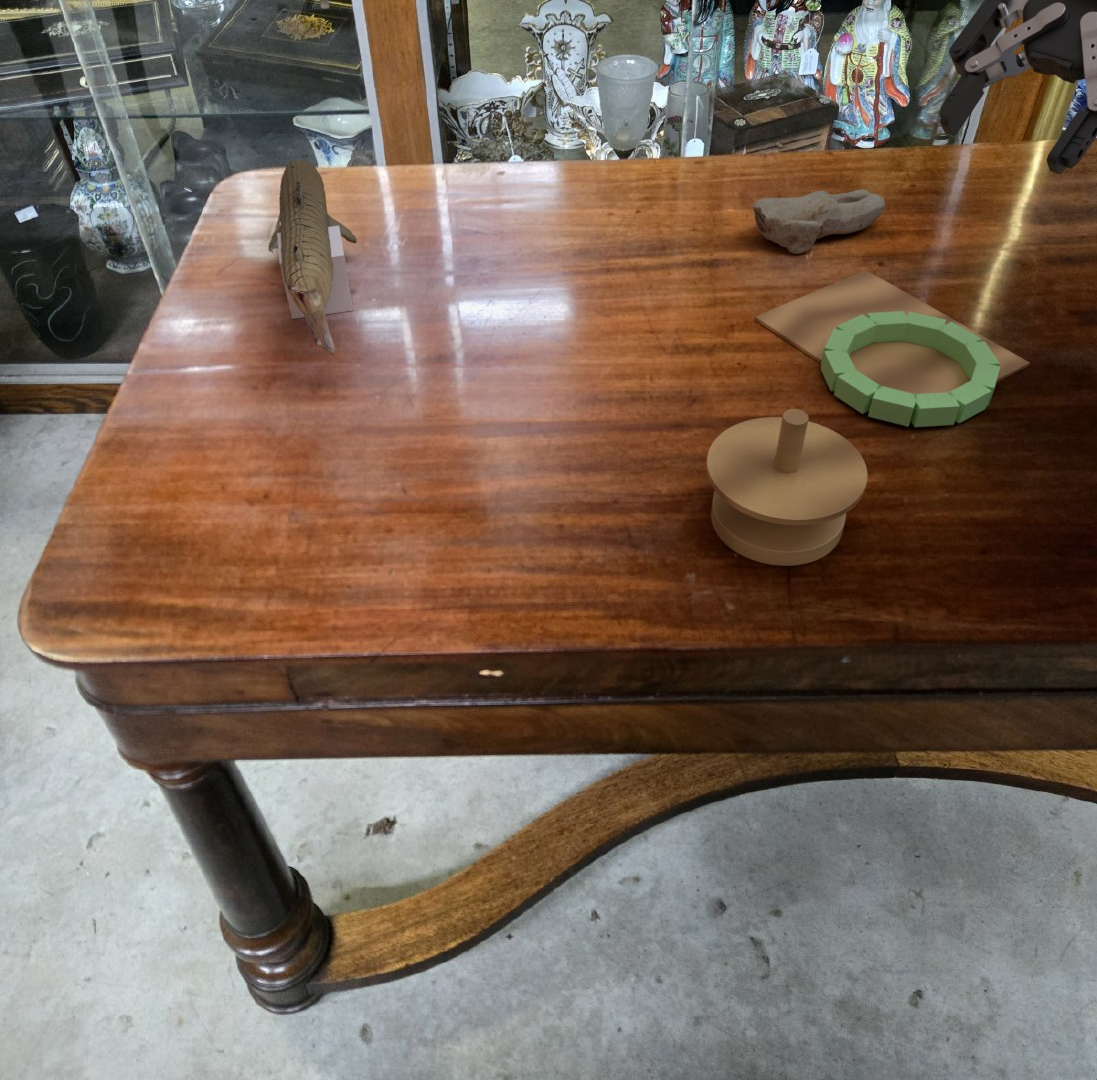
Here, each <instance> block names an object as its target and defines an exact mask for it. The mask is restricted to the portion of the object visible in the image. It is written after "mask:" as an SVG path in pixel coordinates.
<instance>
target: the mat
mask: <svg viewBox="0 0 1097 1080" xmlns="http://www.w3.org/2000/svg"><path fill="white" fill-rule="evenodd" d="M896 311H904V313H905V315H906V317H907V315H908V313H909V312H914V313H918V314H923V315H927V316H932V317H936V318H941V319H946V323H945V325H946V324H948V323H950V322H953V323H955V324H957V325H959V326H960V327H962V328H964V329H966V330H967V331H969V332H971V333H973V334H975V335H976V336H978V337H980V338H981V342H986V344H987V345H988V347H989V348H990V350H991V351H992V353H993V354H994V356H995V357H996V358H997V360H998V361H999V367H1000V371H999V374H998V378H997V381H996V384H997V383H999V382H1000V381H1003V380H1004V379H1006V378H1008V377H1010V376H1012V375H1014V374H1016V373H1018V372H1019V371H1022V370H1024V369H1025V368H1027V367H1028V368H1029V366H1030V364H1031V362H1029V361H1028V360H1026V359H1025V358H1022V357H1021V356H1019V355H1017V354H1016V353H1013V352H1012V351H1010V350H1008V349H1006V348H1005V347H1003V346H1002V345H999V344H998V343H996V342H994V341H992V340H991V339H989V338H988V337H985V336H984V335H981V334H980V333H978V332H976V331H975V330H973V329H971V328H969V327H968V326H966V325H965V324H962V323H960V322H959V321H957V320H956V319H953V318H951V316H948V315H947V314H945V313H943V312H941V311H939V310H937V309H936V308H934V307H932V306H931V305H929V304H927V303H925V302H924V301H922V300H920V299H918V298H917V297H915V296H913V295H912V294H910V293H908V292H906V291H904V290H902V289H900V288H899V287H897V286H895V285H893V284H891V283H890V282H888V281H887V280H885V279H883V278H881V277H880V276H878V275H876V274H874V273H872V272H870V271H868V270H867V269H864V270H862V271H860V272H857V273H855V274H852V275H850V276H847V277H845V278H843V279H841V280H838V281H836V282H833V283H831V284H829V285H826V286H824V287H822V288H819V289H817V290H814V291H812V292H810V293H808V294H805V295H803V296H800V297H798V298H796V299H795V298H794V299H793V300H790V301H788V302H786V303H784V304H781V305H779V306H777V307H774V308H772V309H769V310H767V311H765V312H762V313H759V314H757V315H755V316H754V321H756V322H757V323H758V324H760V325H761V326H763V327H765V328H766V329H768V330H769V331H771V332H772V333H774V334H775V335H776V336H777V337H780V338H781V339H783V340H784V341H786V343H789V344H790V345H792V346H794V347H795V348H796V349H798V350H799V351H801V352H803V353H804V354H805V355H806V356H808V357H810V358H811V359H813V360H814V361H816V362H817V363H819V364H820V365H821V361H822V356H823V351H824V347H825V345H826V343H827V341H828V339H829V337H830V335H831V333H832V331H833V329H836V328H837V326H838V325H840V324H843V323H845V322H847V321H849V320H851V319H854V318H856V317H858V316H860V315H865V316H866V317H867V314H868V313H879V312H896ZM849 357H850V359H851V361H852V363H853V365H854V367H855V369H856V370H857V371H859V372H860V373H862V374H863V375H865V376H866V377H868V378H870V379H871V380H873V381H874V382H876V383H877V384H879V385H880V386H884V387H888V388H892V389H896V390H900V391H904V392H909V393H913V394H926V393H943V392H950V391H952V390H954V389H956V388H958V387H960V386H961V385H963V384H965V383H967V382H969V381H970V380H969V378H968V376H967V375H966V373H965V372H964V370H963V368H962V367H961V365H960V364H959V363H958V362H957V361H955V360H953V359H952V358H950V357H948V356H946V355H945V354H943V353H941V352H940V351H938V350H936V349H935V348H931V347H927V346H922V345H918V344H913V343H909V342H905V341H894V342H877V343H871V344H869V345H866V346H864V347H862V348H860V349H858V350H856V351H854V352H852V353H851V354H850V356H849ZM910 424H911V425H913V423H912V422H911V421H910Z"/></svg>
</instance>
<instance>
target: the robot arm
mask: <svg viewBox="0 0 1097 1080" xmlns="http://www.w3.org/2000/svg"><path fill="white" fill-rule="evenodd" d="M1020 18H1022V23H1021V24H1019V25H1017V26H1016V27H1014V28H1012V29H1011V30H1008V31H1007V32H1005V33H1003V34H1001V35H1000V33H1001V31H1002V30H1003V29H1009V28H1011V26H1012V24H1013V23H1014V22H1015V21H1016V20H1018V19H1020ZM999 35H1000V36H999ZM998 36H999V37H998ZM994 41H995V42H994ZM993 43H994V44H993ZM1022 46H1023V51H1021V52H1019V53H1017V54H1016V53H1015V51H1016V50H1017V49H1018V48H1020V47H1022ZM948 54H949V56H950V58H951V62H952V63H953V66H954V68H955V71H956V73H957V74H958V75H959V76H960V77H959V78H958V80H957V82H956V83H955V84H954V86H953V88H952V89H951V91H950V92H949V94H948V95H947V97H946V98H945V100H944V101H943V103H942V104H941V105H940V107H939V111H938V115H939V116H940V120H939V124H940V126H941V129H942V130H943V132H944V134H947V135H950V136H952V137H956V136H957V135H958V134H959V132H960V130H961V129H962V128H963V126H964V124H965V123H966V122H967V120H968V118H969V117H970V115H971V114H972V113H973V111H974V109H975V108H976V107H977V105H978V104H979V102H980V101H981V99H982V97H983V96H984V94H985V91H984V89H986V88H987V87H990V86H991V85H994V84H995V83H997V82H1000V80H1003V79H1004V78H1006V77H1009V78H1014V77H1016V76H1018V75H1020V74H1022V73H1023V72H1025V71H1027V70H1029V69H1031V68H1032V71H1033V73H1037V74H1040V75H1045V76H1046V75H1047V76H1056V77H1058V78H1059V79H1061V80H1062V81H1064V82H1066V83H1071V84H1073V85H1074V84H1075V83H1076V82H1077V81H1083V80H1085V88H1086V90H1085V91H1086V103H1087V106H1086V108H1085V109H1080V108H1079V109H1078V110H1077V111H1076V113H1075V114H1074V116H1073V118H1072V119H1071V121H1070V122H1069V123H1068V125H1067V127H1066V128H1065V129H1064V131H1063V132H1062V133H1061V135H1060V136H1059V138H1058V139H1057V141H1056V142H1055V144H1054V145H1053V146H1052V148H1051V150H1050V151H1049V152H1048V155H1047V157H1046V164H1047V167H1048V169H1049V172H1052V173H1054V174H1056V175H1057V174H1058V175H1062V174H1063V173H1064V172H1065V171H1066V169H1071V170H1072V169H1074V167H1076V166H1077V165H1079V163H1080V161H1082V159H1083V157H1084V155H1085V154H1086V153H1087V151H1088V150H1089V149H1090V147H1091V146H1092V144H1093V143H1094V141H1096V139H1097V0H983V1H982V3H981V5H979V7H978V8H977V9H976V11H975V13H974V14H973V15H972V17H971V18H970V20H969V21H968V22H967V24H966V25H965V26H964V28H963V29H962V30H961V32H960V33H959V35H958V36H957V38H956V39H955V40H954V42H953V43H952V44H951V46H950V47H949V49H948Z"/></svg>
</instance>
